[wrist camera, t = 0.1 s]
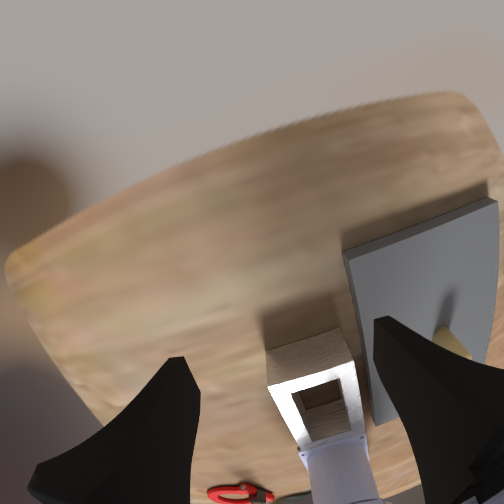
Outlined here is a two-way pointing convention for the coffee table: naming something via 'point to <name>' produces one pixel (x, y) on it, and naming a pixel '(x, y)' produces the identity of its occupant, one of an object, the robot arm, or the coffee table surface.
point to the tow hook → (256, 495)
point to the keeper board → (429, 287)
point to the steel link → (311, 374)
